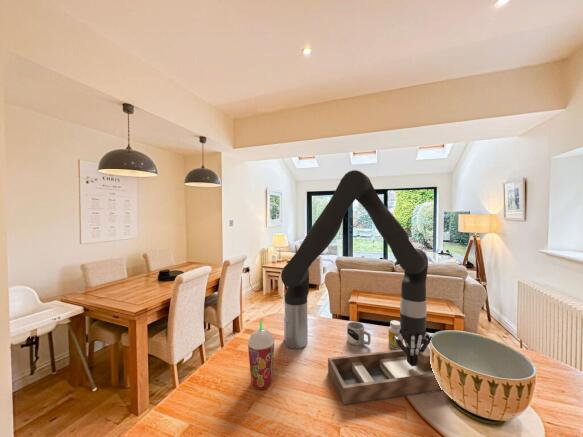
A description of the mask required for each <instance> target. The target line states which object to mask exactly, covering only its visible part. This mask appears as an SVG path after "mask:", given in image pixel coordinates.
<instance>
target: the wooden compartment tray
mask: <svg viewBox="0 0 583 437" xmlns="http://www.w3.org/2000/svg"><path fill="white" fill-rule="evenodd" d="M327 374H328V375H329V377H330V380H331V382H332V384H333V386H334V388H335V391H336V392H337V395H338V397H339V399H340V401H341V403H342V406H349V405H357V404H362V403H369V402H374V401H375V402H376V401H381V400H382V401H383V400H389V399H395V398H401V397H408V395H410V396H416V395H422V393H423V394H427V393H426V392H429V393H433V392H432V391H436V392H442V390H441V388H440V386H439V384H438V382H437V380H436V378H435V375H434V373H433V371H427V372H424V371H423V370H422V369H421V368H420V367H419V366H418V365H417V364H416V366H411V365H410V364H409V363H408V362H407V354H406V353H405V352H404V351H402V350H401V349H400V350H396V349H392V350H384V351H383V350H382V351H377V352H376V351H375V352H368V353H360V354H349V355H344V356H341V355H340V356H334V357H332V356H331V357H327Z"/></svg>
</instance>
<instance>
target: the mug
mask: <svg viewBox="0 0 583 437" xmlns="http://www.w3.org/2000/svg"><path fill="white" fill-rule="evenodd" d="M346 330H347V331H346V333H347V334H346V335H347V336H346V337H347V343H348V344H350V346H351V345H352V346H356V347H360V346H363V345H367V346H370V344H371V339H372V338H371V334H370V332H368V331H367V330H365V325H364V324H363V323H362V322H359V321H358V322H357V321H350V322H348V323H347V329H346ZM365 335H366V337H367V340H365Z"/></svg>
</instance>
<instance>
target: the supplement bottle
mask: <svg viewBox="0 0 583 437" xmlns="http://www.w3.org/2000/svg"><path fill="white" fill-rule="evenodd" d="M389 325H390V326H389V327H388V346H389V348H391V349H392V350H400V349H401V348H400V347H399V346H398V345H397V343H396V342H395V341H394V339H393V336H396V337H397V336H398V335H399V334H400V333H399V331H400V329H401V325H400V320H394V319H393V320H390V323H389ZM402 340H403V341H404V339H403V338H402Z"/></svg>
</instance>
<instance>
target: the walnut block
mask: <svg viewBox="0 0 583 437" xmlns="http://www.w3.org/2000/svg"><path fill="white" fill-rule="evenodd" d="M429 347H430V346H429V345H428V346H427V348H426V349H425V351H424V352H423V353H421V352H420V353H419V354H418V363H417V365H418V366H419V367H420V368H421V369H422V370H423V371H424V372H427V371H432V368H431V364H430V349H429Z"/></svg>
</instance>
